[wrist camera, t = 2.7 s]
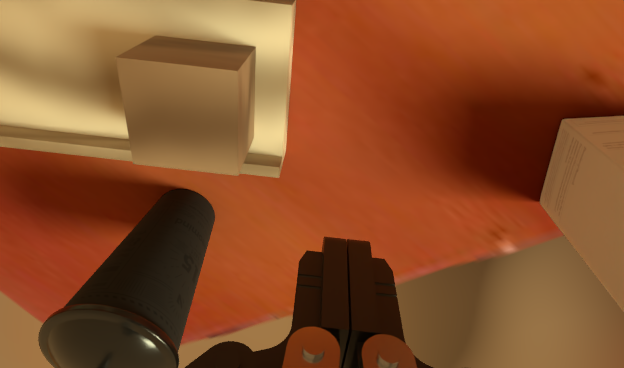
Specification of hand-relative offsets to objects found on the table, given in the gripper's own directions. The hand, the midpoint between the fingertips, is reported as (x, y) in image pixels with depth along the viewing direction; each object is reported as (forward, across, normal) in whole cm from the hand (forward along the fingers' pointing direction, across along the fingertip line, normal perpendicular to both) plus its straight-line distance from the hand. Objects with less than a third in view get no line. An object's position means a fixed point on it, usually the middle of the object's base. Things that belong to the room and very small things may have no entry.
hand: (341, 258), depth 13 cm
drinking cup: (+17, +11, +12) cm, 24 cm away
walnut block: (+14, +8, 0) cm, 16 cm away
